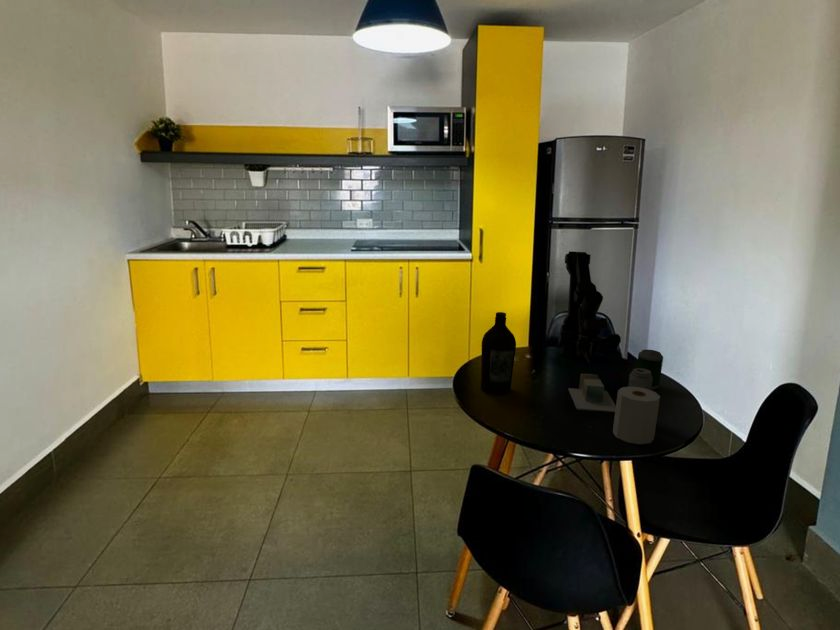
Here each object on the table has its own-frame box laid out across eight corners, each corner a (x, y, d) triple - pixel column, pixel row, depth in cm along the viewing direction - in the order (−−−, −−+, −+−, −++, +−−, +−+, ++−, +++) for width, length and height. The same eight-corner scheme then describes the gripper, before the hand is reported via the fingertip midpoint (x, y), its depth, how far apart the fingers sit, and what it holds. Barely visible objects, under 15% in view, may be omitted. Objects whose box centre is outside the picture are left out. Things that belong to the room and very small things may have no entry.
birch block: (580, 373, 183) (587, 385, 172) (596, 374, 183) (604, 386, 172) (579, 387, 184) (585, 401, 174) (595, 388, 184) (602, 402, 173)
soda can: (662, 391, 185) (667, 356, 182) (638, 390, 185) (643, 355, 182) (653, 383, 192) (658, 349, 189) (631, 382, 192) (635, 348, 189)
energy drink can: (641, 427, 158) (649, 376, 154) (620, 420, 162) (627, 370, 158) (649, 420, 162) (656, 370, 159) (628, 414, 166) (635, 365, 162)
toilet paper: (605, 428, 157) (610, 387, 154) (639, 426, 159) (644, 385, 156) (626, 446, 147) (632, 402, 144) (661, 443, 149) (668, 399, 146)
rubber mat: (568, 389, 184) (568, 388, 184) (606, 391, 183) (606, 390, 183) (576, 409, 168) (577, 408, 168) (618, 412, 167) (618, 411, 167)
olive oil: (475, 383, 186) (480, 308, 180) (507, 383, 187) (512, 309, 181) (483, 396, 176) (488, 317, 169) (516, 395, 177) (523, 317, 171)
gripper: (563, 306, 183) (565, 350, 175) (623, 309, 181) (627, 353, 173) (557, 324, 192) (559, 366, 184) (614, 327, 191) (618, 369, 183)
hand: (590, 363), depth 181 cm, fingers closed
